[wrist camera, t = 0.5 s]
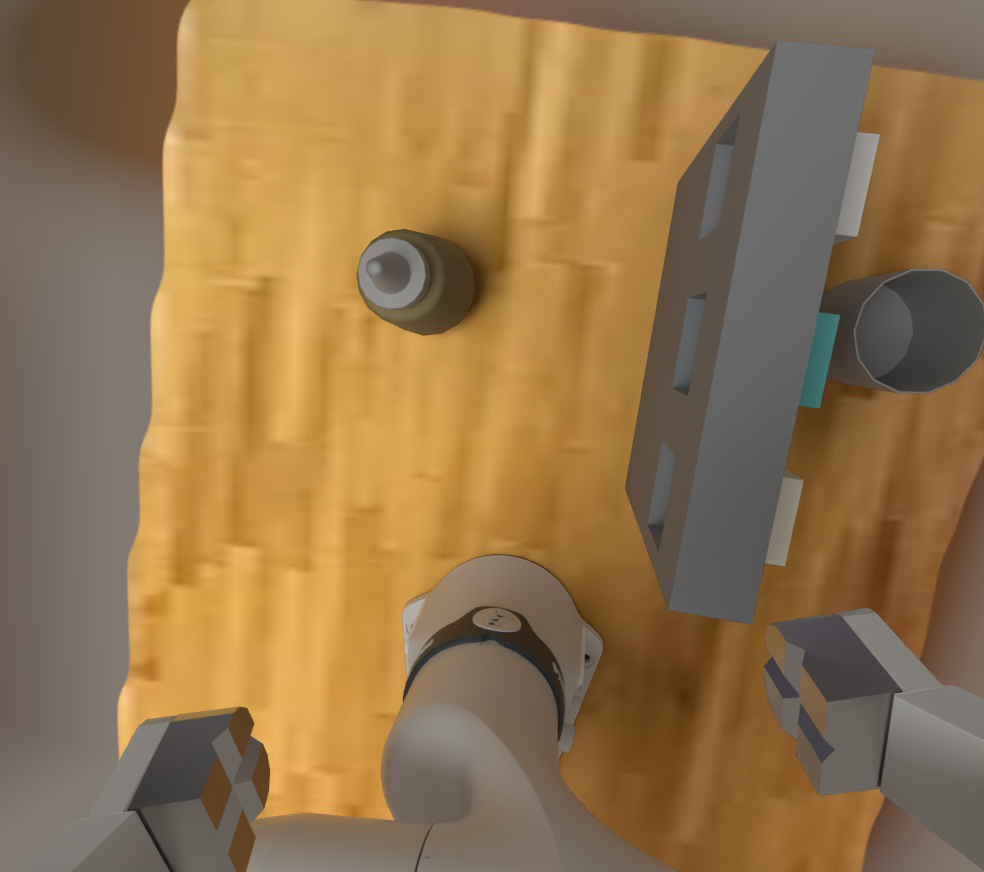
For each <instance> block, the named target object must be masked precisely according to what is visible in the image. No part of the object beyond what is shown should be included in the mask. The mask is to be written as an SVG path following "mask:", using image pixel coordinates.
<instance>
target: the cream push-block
mask: <svg viewBox="0 0 984 872" xmlns="http://www.w3.org/2000/svg"><path fill="white" fill-rule="evenodd" d="M803 482H804V480H802V479H801V478H799V477H797V476H796V475H794V474H793V473H791V472H789V471H788V470H786V469H785V472H784V476H783V481H782V486H781V490H780V495H779V500H778V504H777V509H776V514H775V518H774V523H773V528H772V532H771V537H770V542H769V546H768V551H767V556H766V560H765V563H767V564H773V565H779V566H785V563H786V559H787V554H788V550H789V545H790V541H791V536H792V532H793V527H794V522H795V518H796V513H797V509H798V504H799V500H800V495H801V491H802V486H803Z"/></svg>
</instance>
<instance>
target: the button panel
mask: <svg viewBox="0 0 984 872" xmlns="http://www.w3.org/2000/svg"><path fill="white" fill-rule="evenodd" d="M874 53H875V49H868V48H856V47H846V46H835V45H823V44H812V43H800V42H790V41H777V42H776V43H775V45H774V46H773V48H772V49H771V50H770V52H769V53H768V55H767V56H766V57H765V59H764V60H763V62H762V63H761V65H760V66H759V67H758V69H757V70H756V72H755V73H754V75H753V76H752V77H751V79H750V80H749V82H748V83H747V85H746V86H745V87H744V89H743V90H742V92H741V93H740V95H739V96H738V97H737V99H736V100H735V102H734V103H733V105H732V106H731V107H730V109H729V110H728V112H727V113H726V115H725V116H724V117H723V119H722V120H721V122H720V123H719V125H718V126H717V127H716V129H715V130H714V132H713V133H712V135H711V136H710V137H709V139H708V140H707V142H706V143H705V145H704V146H703V147H702V149H701V150H700V152H699V153H698V155H697V156H696V157H695V159H694V160H693V162H692V163H691V165H690V166H689V167H688V169H687V170H686V172H685V173H684V175H683V176H682V177H681V179H680V180H679V182H678V186H677V191H676V197H675V203H674V209H673V214H672V220H671V226H670V232H669V238H668V243H667V249H666V255H665V261H664V266H663V272H662V278H661V284H660V290H659V295H658V301H657V307H656V313H655V318H654V324H653V330H652V336H651V341H650V347H649V353H648V359H647V365H646V370H645V376H644V382H643V388H642V393H641V399H640V405H639V411H638V417H637V422H636V428H635V434H634V440H633V445H632V451H631V457H630V463H629V469H628V474H627V480H626V486H625V490H626V492H627V495H628V498H629V501H630V504H631V506H632V509H633V512H634V515H635V518H636V520H637V523H638V526H639V529H640V532H641V534H642V537H643V540H644V543H645V545H646V548H647V551H648V554H649V557H650V559H651V562H652V565H653V568H654V571H655V573H656V576H657V579H658V582H659V585H660V587H661V590H662V593H663V596H664V599H665V601H666V604H667V607H668V610H671V611H677V612H683V613H688V614H694V615H700V616H706V617H711V618H717V619H723V620H729V621H734V622H740V623H746V624H752V621H753V616H754V611H755V607H756V602H757V597H758V593H759V588H760V583H761V579H762V574H763V570H764V565H765V560H766V556H767V551H768V546H769V542H770V537H771V532H772V528H773V523H774V518H775V514H776V509H777V504H778V500H779V495H780V490H781V486H782V481H783V476H784V472H785V467H786V462H787V458H788V453H789V448H790V444H791V439H792V434H793V430H794V425H795V420H796V416H797V411H798V407H799V402H800V397H801V393H802V388H803V383H804V379H805V374H806V369H807V365H808V360H809V355H810V351H811V346H812V341H813V337H814V332H815V327H816V323H817V318H818V313H819V309H820V304H821V299H822V295H823V290H824V285H825V281H826V276H827V271H828V267H829V262H830V258H831V253H832V248H833V244H834V239H835V234H836V230H837V225H838V220H839V216H840V211H841V206H842V202H843V197H844V192H845V188H846V183H847V178H848V174H849V169H850V164H851V160H852V155H853V150H854V146H855V141H856V136H857V132H858V127H859V122H860V118H861V113H862V108H863V104H864V99H865V95H866V90H867V85H868V81H869V76H870V71H871V67H872V62H873V57H874Z"/></svg>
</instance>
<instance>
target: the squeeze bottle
mask: <svg viewBox="0 0 984 872" xmlns="http://www.w3.org/2000/svg"><path fill="white" fill-rule="evenodd" d="M357 279H358V287H359V292H360V294H361V296H362V298H363V300H364V301H365V303H366V305H367V307H368V308H369V309H370V310H371V311H373V312H374V313H375V314H376V315H378V316H379V317H380V318H381V319H383V320H385V321H387V322H389V323H391V324H393V325H396V326H398V327H400V328H402V329H404V330H407V331H410V332H413V333H417V334H420V335H423V336H424V335H432V334H441V333H444V332H445V331H447V330H449V329H451V328H452V327H454V326H456V325H458V324H459V323H460V321H461V320H462V319H463V317H464V316H465V315H466V313H467V312H468V311H469V310H470V307H471V304H472V300H473V297H474V293H475V282H474V273H473V269H472V267H471V265H470V263H469V261H468V259H467V258H466V256H465V254H464V252H462V251H461V250H460V249H459V248H458V247H456V246H455V245H454V244H453V243H451V242H450V241H449V240H446V239H443V238H439V237H436V236H432V235H428V234H424V233H420V232H415V231H411V230H406V229H402V230H394V231H387V232H385V233H384V234H382V235H380V236H379V237H377V238H376V239H374V240H372V241H371V242H370V244H369V245H368V247H367V248H366V249H365V251H364V252H363V254H362V255H361V258H360V262H359V266H358V270H357Z"/></svg>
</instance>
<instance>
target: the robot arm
mask: <svg viewBox="0 0 984 872" xmlns="http://www.w3.org/2000/svg"><path fill="white" fill-rule="evenodd" d="M402 622H403V634H404V645H405V648H404V652H405V657H406V669H407V681H406V686H405V690H404V695H403V704H402V706H401V708H400V711H399V713H398V715H397V717H396V719H395V722H394V724H393V726H392V728H391V731H390V733H389V735H388V737H387V739H386V742H385V745H384V749H383V754H382V761H381V781H382V789H383V793H384V797H385V800H386V803H387V805H388V807H389V810H390V812H391V814H392V816H393V818H394V820H395V821H394V820H383V819H372V818H360V817H349V816H338V815H327V814H316V813H297V814H289V815H281V816H273V817H265V818H257V816H258V815H259V814H260V813H261V812H262V811H263V810H264V808H265V804H266V800H267V796H268V793H269V781H270V767H269V761H268V755H267V753H266V750H265V748H264V745H263V744H262V743H261V742H259V741H258V740H256V739H255V738H253V737H251V736H250V735H251V732H252V729H253V726H254V721H253V719H252V717H251V715H250V713H249V711H248V709H247V708H244V707H233V708H225V709H218V710H210V711H202V712H194V713H187V714H179V715H178V716H170V717H161V718H153V719H147V720H146V721H144V722H143V723H142V724H141V725H139V726H138V728H137V729H136V731H135V733H134V735H133V736H132V738H131V740H130V742H129V744H128V746H127V747H126V749H125V751H124V753H123V755H122V756H121V758H120V760H119V762H118V764H117V765H116V767H115V769H114V771H113V773H112V775H111V776H110V778H109V780H108V782H107V784H106V786H105V787H104V789H103V791H102V793H101V795H100V796H99V798H98V800H97V802H96V804H95V805H94V807H93V809H92V811H91V813H90V815H89V817H88V818H83V819H78V820H76V821H75V822H74V823H73V824H72V825H71V826H69V827H68V828H67V829H66V830H65V831H64V832H62V833H61V834H60V835H59V836H58V837H57V838H55V839H54V840H53V841H52V842H51V843H50V844H49V845H47V846H46V847H45V848H44V849H43V850H41V851H40V852H39V853H38V854H37V855H36V856H35V857H33V858H32V859H31V860H30V861H29V862H28V863H26V864H25V865H24V866H23V867H22V868H21V869H20V870H18V871H17V872H676V871H675V870H674V869H673V867H671V866H670V865H668V864H666V863H664V862H662V861H660V860H659V859H657V858H655V857H653V856H651V855H649V854H648V853H646V852H644V851H642V850H640V849H639V848H637V847H635V846H634V845H632V844H631V843H629V842H628V841H626V840H625V839H623V838H622V837H620V836H619V835H617V834H616V833H615V832H613V831H612V830H611V829H610V828H608V827H607V826H606V825H605V824H603V823H602V822H601V821H600V820H599V819H598V818H597V817H596V816H595V815H594V814H592V813H591V812H590V811H589V810H588V809H587V808H586V807H585V805H584V804H583V803H582V802H581V801H580V800H579V799H578V798H577V797H576V796H575V794H574V793H573V792H572V791H571V789H570V788H569V786H568V785H567V783H566V782H565V780H564V779H563V777H562V775H561V772H560V765H559V758H560V756H561V753H562V751H563V752H566V753H567V752H569V751H570V749H571V747H572V744H573V740H574V735H575V726H573V724H574V721H575V719H576V716H577V714H578V712H579V710H580V706H581V704H582V701H583V699H584V696H585V694H586V691H587V689H588V686H589V684H590V681H591V679H592V677H593V674H594V672H595V669H596V667H597V664H598V662H599V659H600V657H601V654H602V651H603V640H602V638H601V636H600V635H599V634H598V633H597V632H596V631H595V630H594V629H593V628H592V627H591V626H590V625H589V624H588V623H586V622H585V621H584V620H583V619H582V618H581V616H580V615H579V613H578V611H577V609H576V607H575V605H574V603H573V601H572V599H571V597H570V595H569V594H568V592H567V591H566V589H565V588H564V587H563V585H562V584H561V583H560V582H559V581H558V580H557V579H556V578H555V577H554V576H553V575H552V574H550V573H549V572H548V571H546V570H545V569H544V568H542V567H540V566H538V565H537V564H535V563H532V562H530V561H528V560H525V559H522V558H518V557H513V556H506V555H491V556H484V557H479V558H476V559H473V560H470V561H467V562H465V563H463V564H461V565H460V566H458V567H456V568H455V569H454V570H452V571H451V572H450V573H449V574H447V575H446V576H445V577H444V578H443V580H442V581H441V582H440V583H439V584H438V585H437V586H436V587H435V588H434V589H433V590H431V591H430V592H428V593H426V594H423V595H421V596H418V597H416V598H414V599H412V600H411V601H409V602H408V603H407V604H406V605H405V607H404V610H403V613H402ZM413 623H414V624H413ZM765 645H766V647H767V649H768V650H769V652H770V654H771V655H772V657H771V658H770V660H769V661H768V662H767V663H766V665H765V666H764V684H765V689H766V693H767V698H768V702H769V704H770V707H771V709H772V712H773V714H774V716H775V718H776V720H777V722H778V724H779V726H780V728H781V729H782V730H783V731H784V732H786V733H788V734H789V735H791V736H792V737H794V738H796V739H797V747H796V756H797V758H798V760H799V761H800V763H801V765H802V767H803V768H804V770H805V772H806V774H807V775H808V777H809V779H810V781H811V782H812V784H813V786H814V788H815V789H816V791H817V793H818V795H819V796H824V795H832V794H840V793H849V792H857V791H865V790H873V789H880V792H881V793H882V794H883V795H885V796H886V797H887V798H889V799H890V800H892V801H893V802H894V803H895V804H897V805H898V806H899V807H901V808H902V809H903V810H905V811H906V812H907V813H909V814H910V815H911V816H913V817H914V818H915V819H917V820H918V821H919V822H921V823H922V824H923V825H925V826H926V827H927V828H929V829H930V830H931V831H933V832H934V833H935V834H937V835H938V836H939V837H941V838H942V839H943V840H945V841H946V842H947V843H948V844H950V845H951V846H952V847H954V848H955V849H956V850H958V851H959V852H961V853H962V854H963V855H964V856H966V857H967V858H968V859H970V860H971V861H973V862H974V863H975V864H976V865H978V866H979V867H980V868H982V869H983V870H984V699H983V698H981V697H979V696H977V695H974V694H972V693H970V692H968V691H966V690H963V689H962V688H959V687H957V686H955V685H950V686H943V685H942V684H941V683H940V682H939V681H938V680H937V679H936V678H935V677H934V676H933V674H931V672H930V671H929V670H928V669H927V668H926V667H925V666H924V665H923V664H922V662H921V661H920V660H919V659H918V658H917V657H916V656H915V655H914V654H913V653H912V652H911V651H910V649H909V648H908V647H907V646H906V645H905V644H904V643H903V642H902V641H901V640H900V639H899V637H898V636H897V635H896V634H895V633H894V632H893V631H892V630H891V629H890V628H889V627H888V626H887V624H886V623H885V622H884V621H883V620H882V619H881V618H880V617H879V616H878V615H877V614H876V612H875V611H873V610H871V609H869V608H861V609H855V610H849V611H843V612H837V613H834V614H826V615H820V616H814V617H808V618H802V619H796V620H790V621H784V622H778V623H772V624H768V626H767V629H766V631H765ZM585 654H587V655H589V656H590V657H589V658H588V659H584V658H585ZM256 818H257V819H256Z"/></svg>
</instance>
